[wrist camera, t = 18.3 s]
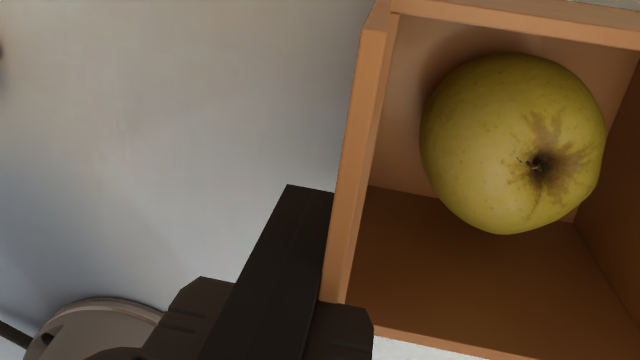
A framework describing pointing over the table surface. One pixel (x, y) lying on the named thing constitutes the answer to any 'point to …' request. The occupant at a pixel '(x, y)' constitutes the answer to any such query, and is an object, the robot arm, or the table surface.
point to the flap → (354, 147)
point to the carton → (487, 248)
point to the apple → (512, 142)
